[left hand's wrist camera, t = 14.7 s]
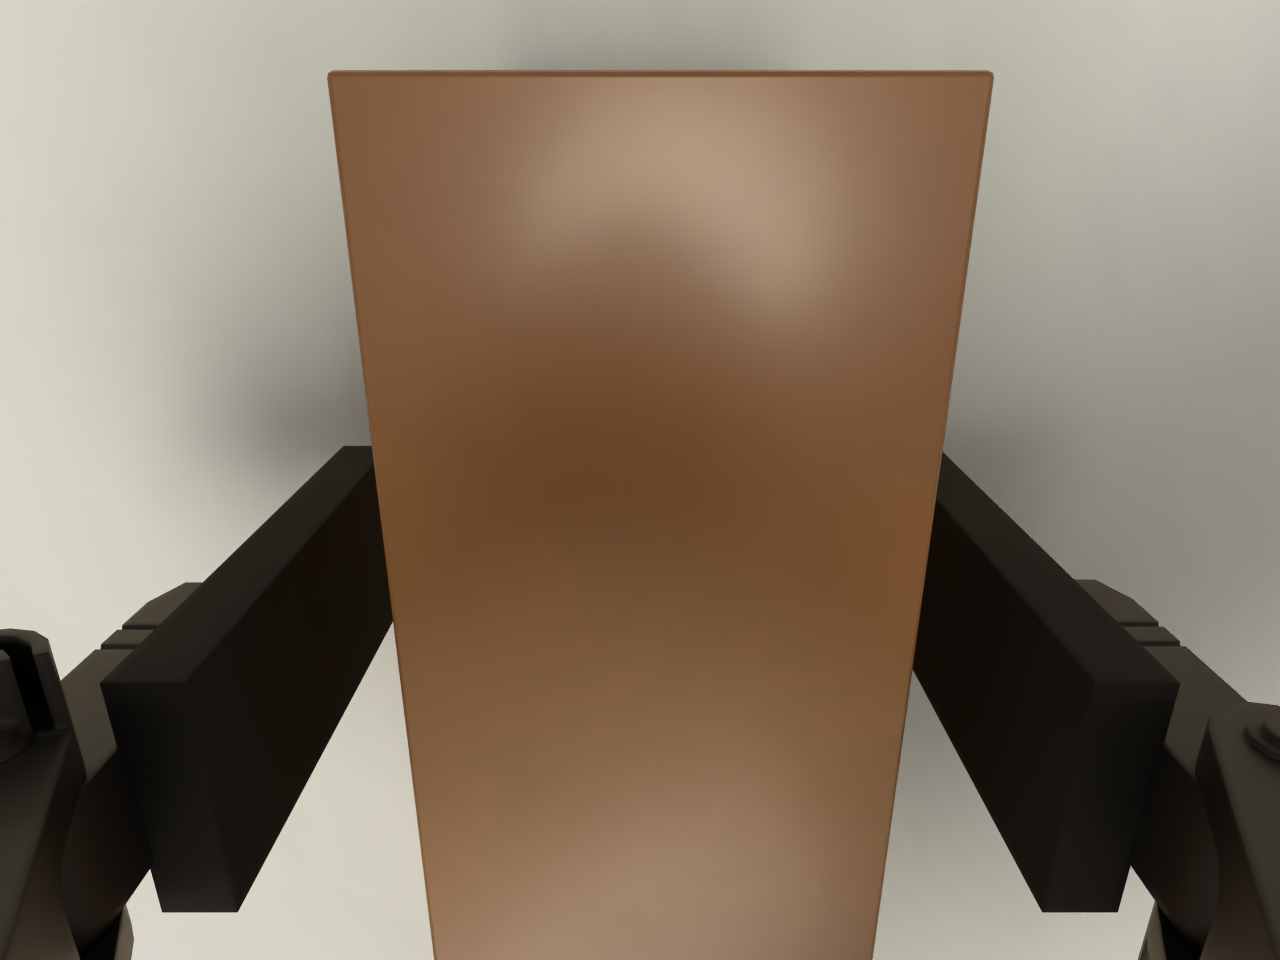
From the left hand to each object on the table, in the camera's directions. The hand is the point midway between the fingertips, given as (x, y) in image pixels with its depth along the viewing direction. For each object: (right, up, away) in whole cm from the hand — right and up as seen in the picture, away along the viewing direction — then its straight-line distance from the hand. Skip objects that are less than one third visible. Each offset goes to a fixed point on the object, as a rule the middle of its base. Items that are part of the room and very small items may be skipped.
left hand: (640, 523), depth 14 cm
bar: (0, -31, +14) cm, 34 cm away
